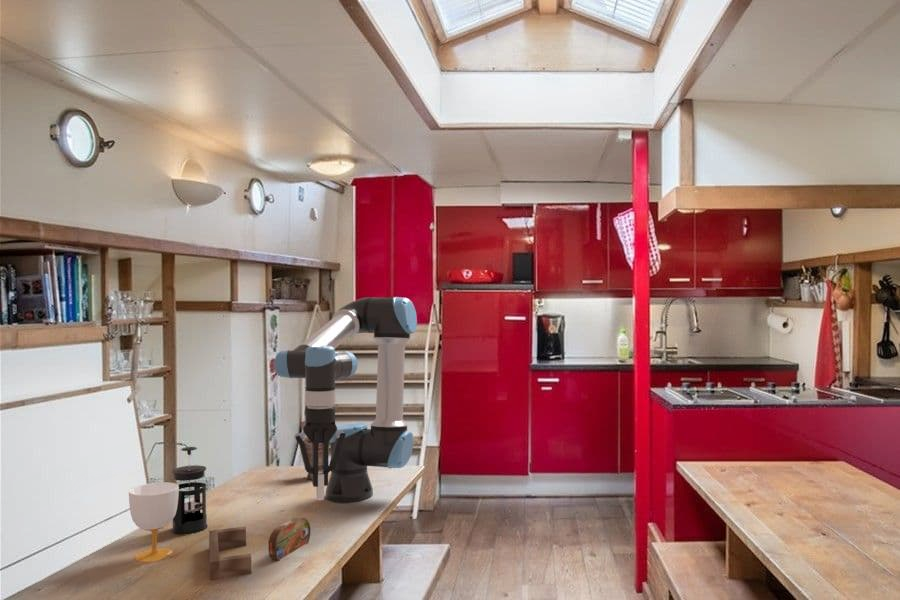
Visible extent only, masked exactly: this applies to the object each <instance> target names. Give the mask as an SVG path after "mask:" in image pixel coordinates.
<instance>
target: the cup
mask: <svg viewBox="0 0 900 600" xmlns="http://www.w3.org/2000/svg"><path fill="white" fill-rule="evenodd" d="M178 485H179V484H178V483H174V482H166V481H165V482H163V481H162V482H160V481H159V482H149V483H146V484H140V485H137V486H134V487H132V488H131V489H129V490H128V502H129V511H130V516H131V519H132V522H133V523H134V524H135V526H136V527H137V528H138V529H140V530H145V531H148V532H151V537H152V538H151V539H152V546H151V549H147V550H144V551H142V552H140V553H139V552H138V553H137V555H136V556H135V558H134V560H135V561H137V562H139V563H149V562H150V563H151V562H155V561H159V560H162V559H164V558H167V557H166V555H167V553H168V552H169V551H170V550H172V549H171V548H166V547H162V548H161V547H159V548H158V545H157V540H158V539H157V537H158V531H159V530H161V529H164V528H165V527H167V526H169V524H171V522H173V518H174V517H175V514H176V511H177V505H178V496H179V491H180V489H179V486H178ZM172 552H173V553H174V550H172Z"/></svg>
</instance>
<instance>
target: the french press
mask: <svg viewBox="0 0 900 600" xmlns="http://www.w3.org/2000/svg"><path fill="white" fill-rule="evenodd" d="M197 449H198V448H197V447H196V446H186V447H182V448H181V451H183V452H187V456H188V465H184V466H179V467H176V468H174V469H173V470H171V471H172V474H173V479H174V480H175V481H180V482H183V481H184V482H185V481H187V482H185V483H184V482H183V483H180V484H177V485H178V486H179V496H178V505H177V511H176V514H175V517H174V518H173V520H172V528H171V532H172V533H173V534H175V535H179V534H180V535H181V534H187V535H192V533H193V534H197V532H198V533H201V532H203V531H205V530H206V529H207V528H208V521H207V484H206V483H205V482H199V481H197V482H196V481H194V480H199V479H202V478H204V477H205V475H206V474H205V471H206V470H207V467H206V466H204V465H199V464H198V465H196V464H195V465H191V455H192V451H195V450H197ZM191 481H193V482H191ZM186 488H188V490H181V489H186ZM191 488H193V490H192V489H191ZM186 496H187V497H188V501H187V502H186V501H185V498H186ZM191 496H193V498H194V500H193V501H191ZM201 497H202V498H201ZM201 510H202V511H201ZM200 531H201V532H200Z"/></svg>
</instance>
